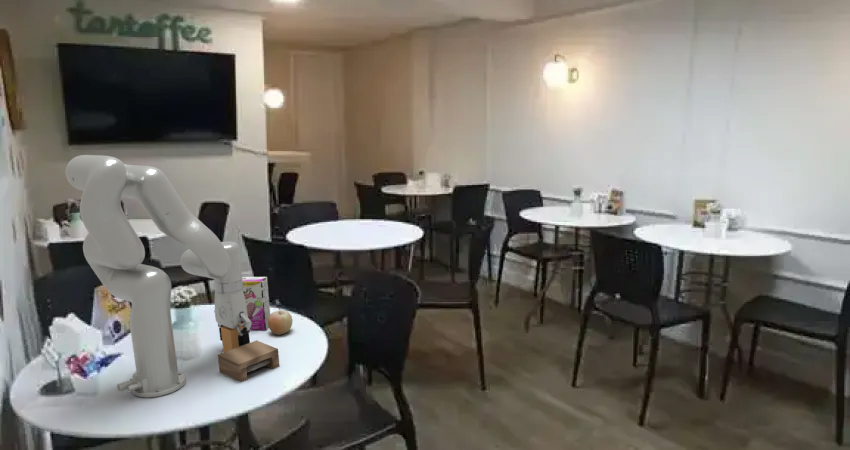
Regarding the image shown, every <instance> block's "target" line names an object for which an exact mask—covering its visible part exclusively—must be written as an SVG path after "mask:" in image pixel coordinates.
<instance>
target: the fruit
mask: <svg viewBox="0 0 850 450" xmlns="http://www.w3.org/2000/svg"><path fill="white" fill-rule="evenodd" d="M278 309H279V310H276V311H273V312H270V315H269V317H268V326H269V328H268V329H269V330H270V332H272V333H273V334H275V335H277V336H278V335H284V334H287V333H288V332H289V331H290V330H291V328H292V327H293V326H292V325H293V317H292V314H291V313H290V312H289V311H286V310H284V309H283V310H281V307H279V308H278Z"/></svg>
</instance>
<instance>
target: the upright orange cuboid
mask: <svg viewBox="0 0 850 450" xmlns="http://www.w3.org/2000/svg"><path fill="white" fill-rule="evenodd" d="M239 324H240V323H239ZM239 324H238V325H239ZM240 328H241V330H242V329H243V328H244V327H240ZM221 334H222V341H221V342H222V353H223V352H226V351H229V350H232V349H234V348H237V347H239V342H238V335H239V333H238V331H237V329H236V328H235V329H231V328H228V327H226V326H222V327H221Z"/></svg>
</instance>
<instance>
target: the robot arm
mask: <svg viewBox="0 0 850 450" xmlns="http://www.w3.org/2000/svg"><path fill="white" fill-rule="evenodd" d="M65 177H66V180H67V182H68V183H69V184H70V186H72V187H74V188H75V189H77V190H79V191H82V194H81V198H80V204H79V215H80V219H81V222H82V223H83V225H84V227H85V229H86V231H87V232H88V233H87V234H86V236H85V237H84V240H83V244H82V251H83V256H84V258H85V260H86V262H87V264H88V265H89V266H90V268H91V269H92V271H93V272H94V274H95V275H96V276H97V278H98V279H99V281H100V282H101V284H102V286H104V288H105V289H106V290H107V291H108V292H109V294H110V295H112V296H113V297H115V298H118V299H119V300H123V301H127V302H130V303H131V308H130V309H131V310H130V314H129V331H130V335H131V342H132V349H133V351H132V352H133V357H134V364H135V370H136V372H134V373H132V377H131V378H129V380H126V381H123V382H120V383H118V384H116V388H117V391H118V392H123V391H125V390H127V391H128V392H132V394H133V395H135V396H136V397H139V398H157V397H161V396H165V395H169V394H171V393H174V392H176V391H178V390H179V389H181V388H182V387H183V386H184V385H185V383H186V375H185V374H184V373H182V372H180V371H179V369H178V361H177V353H176V345H175V336H174V328H173V323H172V322H173V321H172V320H173V319H172V312H171V301H172V300H171V298H172V296H171V295H172V282H171V279H170V277H169V275H168V274H167V273H166V272H165V271H164V270H163V269H160V268H159V267H156V266H153V265H147V264H143V261H144V259H145V256H146V251H145V246H144V244H143V242H142V240H141V238H140V237H139V236H138V234H137V232H136V231H135V229H134V227H133V226H132V224H131V223H130V221H129V219H128V218H127V216H126V215H125V212H124V210H123V208H122V203H121V201H122V198H123V199H129V200H130V199H131V200H137V201H138V202H139V203H140V205H141V206H142V208H143V209H144V210H145V211H146V213H147V215H148V216H149V217H150V218H151V220H152V222H153V223H154V225H155V226H156V227H157V229H158V230H159V231H160V232H161V233H163V234H164V235H166V236H167V237H168V238H171V239H172V240H175V241H176V242H179V243H180V244H182V245H183V246H185V247H186V248H188V249H187V250H185V251H184V252H183V253H182V255H181V257H180V266H181V268H182V269H183V271H184V272H186V273H187V274H190V275H194V276H198V277H204V278H208V279H213V281H214V289H215V290H214V311H213V312H214V317H215V322H216V324H217V327H218V332H219V339H220V341H221V342H222V334H221V327H222V326H226V327H228V328H231V329H235V328H236V329H237V331H238V333H239V335H238V342H239V347H240V346H243V345H245V344H248V343H251V341H250V333H251V331H252V330H251V324H252V322H251V321H250V319H249V318H248V315H247V307H246V302H245V297H244V293H243V279H242V277H243V272H242V261H241V251H240V245H239V244H238V243H237V242H236V241H230V240H229V241H227V240H226V241H221V240H220V239H219V238H218V236H217V235H216V234H215V233H214V232H213V231H212V230H211V229H210V227H209V228H208V227H207V226H206V225H205V224H204V223H203V222H202V221H201V220H200V219H199V218H198V217H196V216H195V215H194V214H193V213H192V212H190V210H189V209H188V206H186V205H185V203H184V202H183V200H182V198H181V197H180V195H179V194H178V192H177V191H176V189H175V187H174V186H173V184H172V183H171V182H170V180H169V178H168V177H167V175H166V174H165V173H164V172H163V171H162V170H161V169H160V168H157V167H155V166H151V165H135V164H134V165H133V164H126V163H124V161H122V160H120V159H119V158H117V157H115V156H110V155H100V154H98V155H97V154H94V155H93V154H81V155H77V156H74V157H73V158H72V159H70V161H69V162H68V163H67V165H66V167H65ZM239 323H241V324H239ZM238 324H239V325H238ZM240 327H244V328H243V329H242V330H241V328H240Z"/></svg>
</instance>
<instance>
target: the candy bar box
mask: <svg viewBox="0 0 850 450" xmlns="http://www.w3.org/2000/svg"><path fill="white" fill-rule="evenodd" d="M242 279H243V293H244V297H245V302H246V307H247V315H248V318H249V319H250V321H251V322H252V324H251V330H250V331H267V330H268V329H270V328H269V326H268V317H269V315H270V314H271V308H270V297H269V295H270V293H269V282H268V277H267V276H242ZM240 324H241V323H240Z"/></svg>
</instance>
